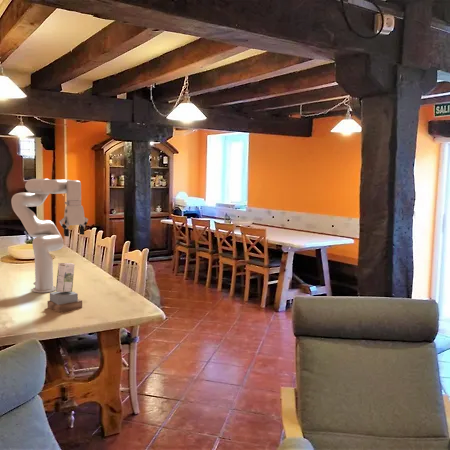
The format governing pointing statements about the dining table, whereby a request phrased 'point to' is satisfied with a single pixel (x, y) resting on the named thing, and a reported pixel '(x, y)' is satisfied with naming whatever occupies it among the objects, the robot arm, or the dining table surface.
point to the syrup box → (65, 277)
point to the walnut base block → (64, 306)
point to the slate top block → (63, 297)
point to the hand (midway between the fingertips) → (74, 235)
